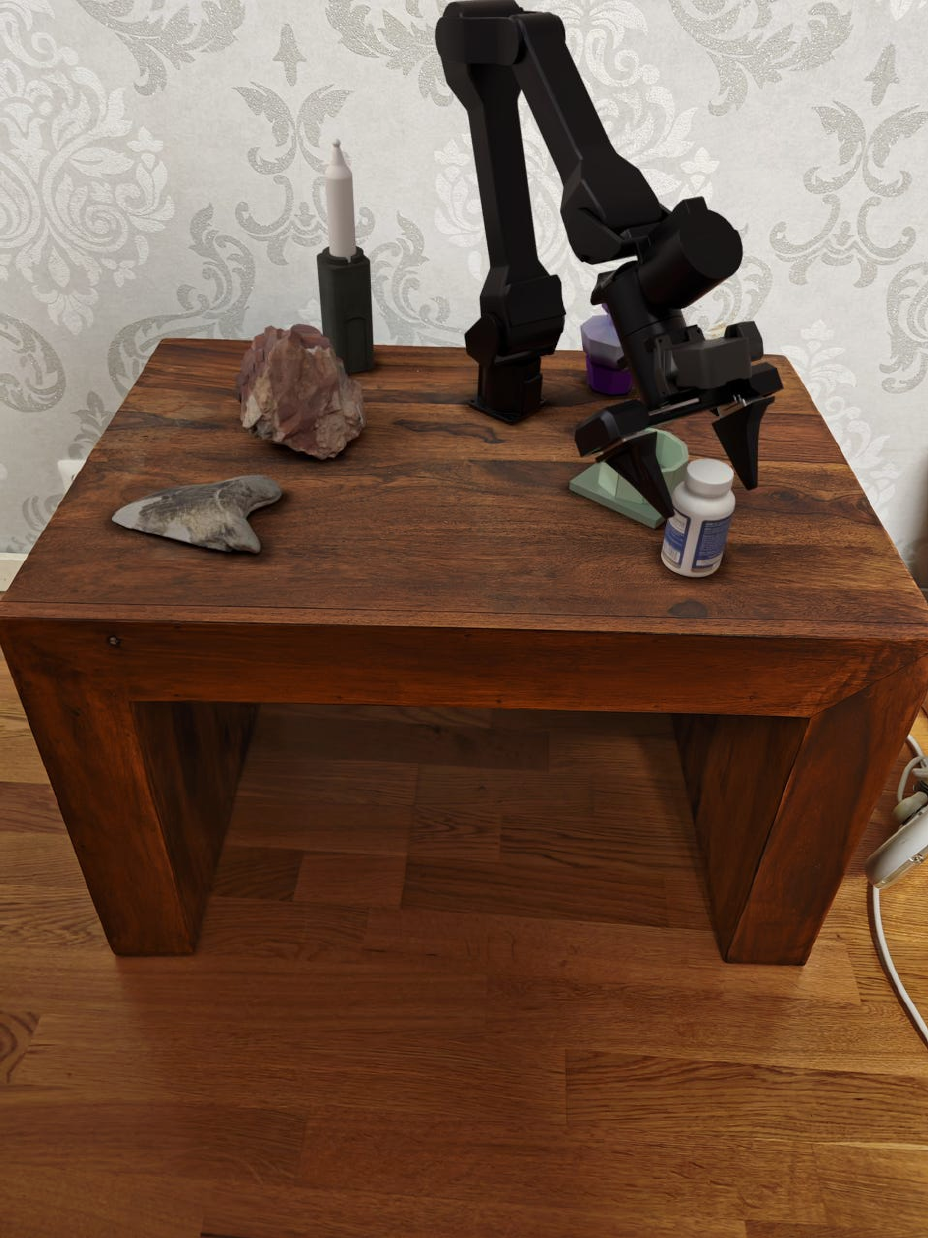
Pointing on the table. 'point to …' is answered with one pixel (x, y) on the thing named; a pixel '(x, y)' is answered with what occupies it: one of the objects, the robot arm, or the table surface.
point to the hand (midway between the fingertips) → (712, 503)
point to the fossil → (204, 512)
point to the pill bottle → (699, 519)
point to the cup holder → (621, 494)
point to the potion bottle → (604, 357)
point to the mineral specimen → (299, 392)
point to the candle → (345, 274)
